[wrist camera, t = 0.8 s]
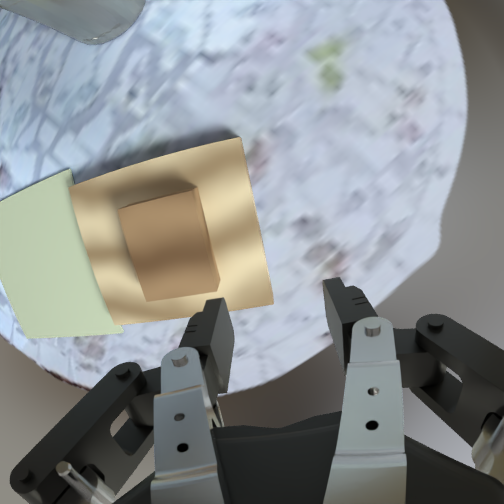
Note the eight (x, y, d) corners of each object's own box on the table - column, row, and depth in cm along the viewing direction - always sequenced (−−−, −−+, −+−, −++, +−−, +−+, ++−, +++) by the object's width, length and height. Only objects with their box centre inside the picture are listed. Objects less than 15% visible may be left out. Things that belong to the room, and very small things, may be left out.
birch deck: (78, 184, 29) (68, 187, 27) (241, 137, 27) (239, 137, 25) (121, 316, 33) (114, 325, 32) (273, 294, 32) (273, 304, 30)
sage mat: (-19, 212, 30) (-20, 212, 29) (70, 168, 28) (69, 168, 28) (28, 337, 36) (26, 338, 36) (123, 331, 34) (122, 332, 34)
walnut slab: (128, 204, 27) (117, 209, 25) (197, 187, 26) (191, 190, 24) (154, 290, 30) (146, 302, 28) (220, 279, 29) (217, 291, 27)
